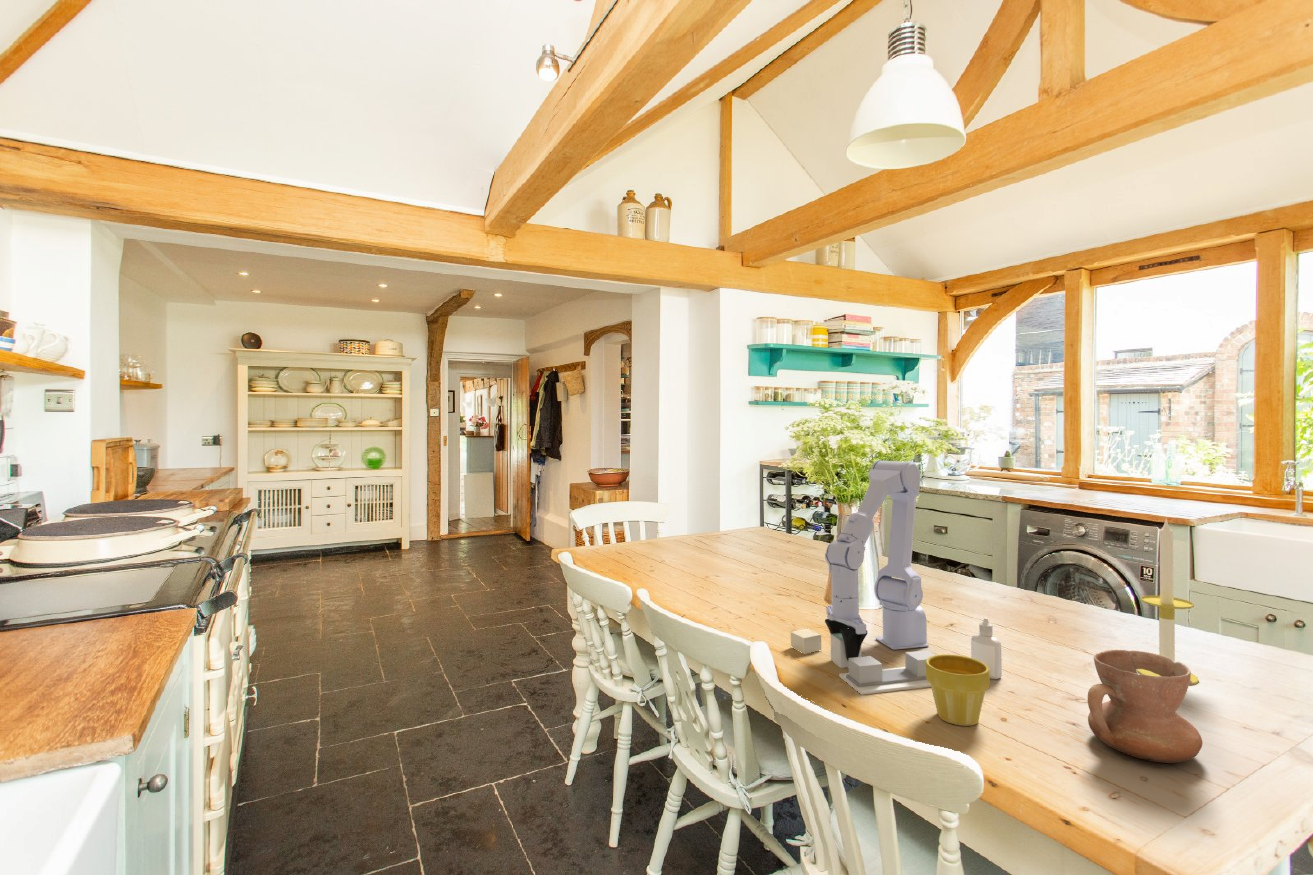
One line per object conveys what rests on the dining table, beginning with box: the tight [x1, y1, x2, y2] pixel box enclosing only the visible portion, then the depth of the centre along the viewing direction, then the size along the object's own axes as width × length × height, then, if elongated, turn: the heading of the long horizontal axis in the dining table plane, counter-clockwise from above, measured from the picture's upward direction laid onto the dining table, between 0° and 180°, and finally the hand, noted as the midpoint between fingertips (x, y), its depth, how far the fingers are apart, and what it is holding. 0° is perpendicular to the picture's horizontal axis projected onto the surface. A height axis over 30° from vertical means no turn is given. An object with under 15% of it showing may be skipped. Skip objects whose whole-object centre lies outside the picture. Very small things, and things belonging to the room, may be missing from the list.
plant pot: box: [926, 653, 991, 727], centre depth 112 cm, size 10×10×10 cm
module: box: [830, 633, 862, 669], centre depth 138 cm, size 5×4×6 cm
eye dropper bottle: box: [970, 617, 1003, 680], centre depth 130 cm, size 4×6×12 cm
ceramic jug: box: [1087, 649, 1203, 764], centre depth 100 cm, size 18×14×14 cm
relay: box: [790, 627, 822, 655], centre depth 147 cm, size 5×5×4 cm
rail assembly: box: [838, 649, 935, 696], centre depth 128 cm, size 20×9×5 cm, turn 101°
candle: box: [1136, 518, 1200, 686], centre depth 128 cm, size 10×10×32 cm
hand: (846, 655), depth 138 cm, fingers open, 5 cm apart
